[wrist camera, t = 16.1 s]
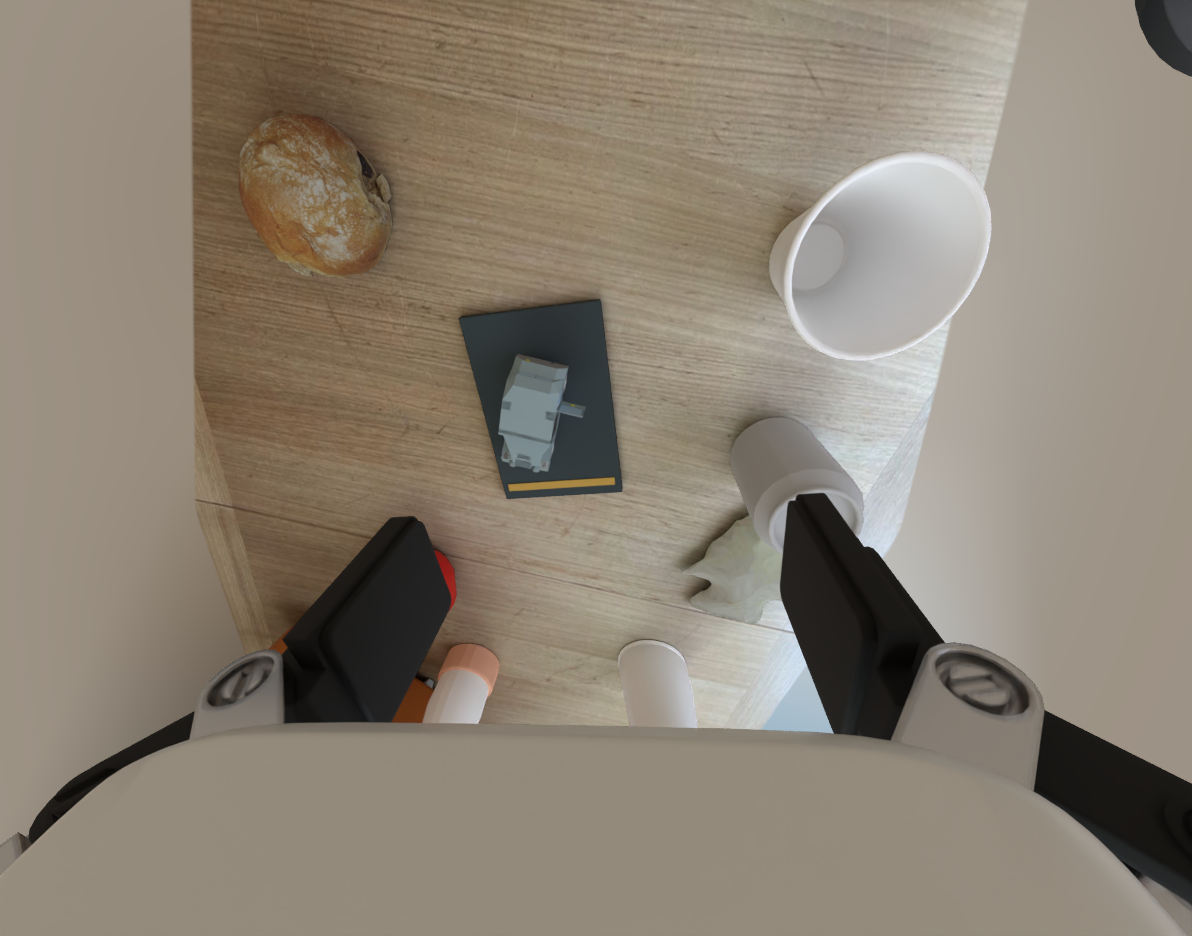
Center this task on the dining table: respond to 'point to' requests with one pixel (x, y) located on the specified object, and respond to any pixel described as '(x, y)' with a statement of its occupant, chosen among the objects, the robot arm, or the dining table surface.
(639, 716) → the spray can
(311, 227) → the bread roll
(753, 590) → the crumpled beige cloth
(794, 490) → the can
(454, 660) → the pepper shaker
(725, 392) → the dining table surface
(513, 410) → the toy car
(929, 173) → the cup
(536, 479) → the mat
